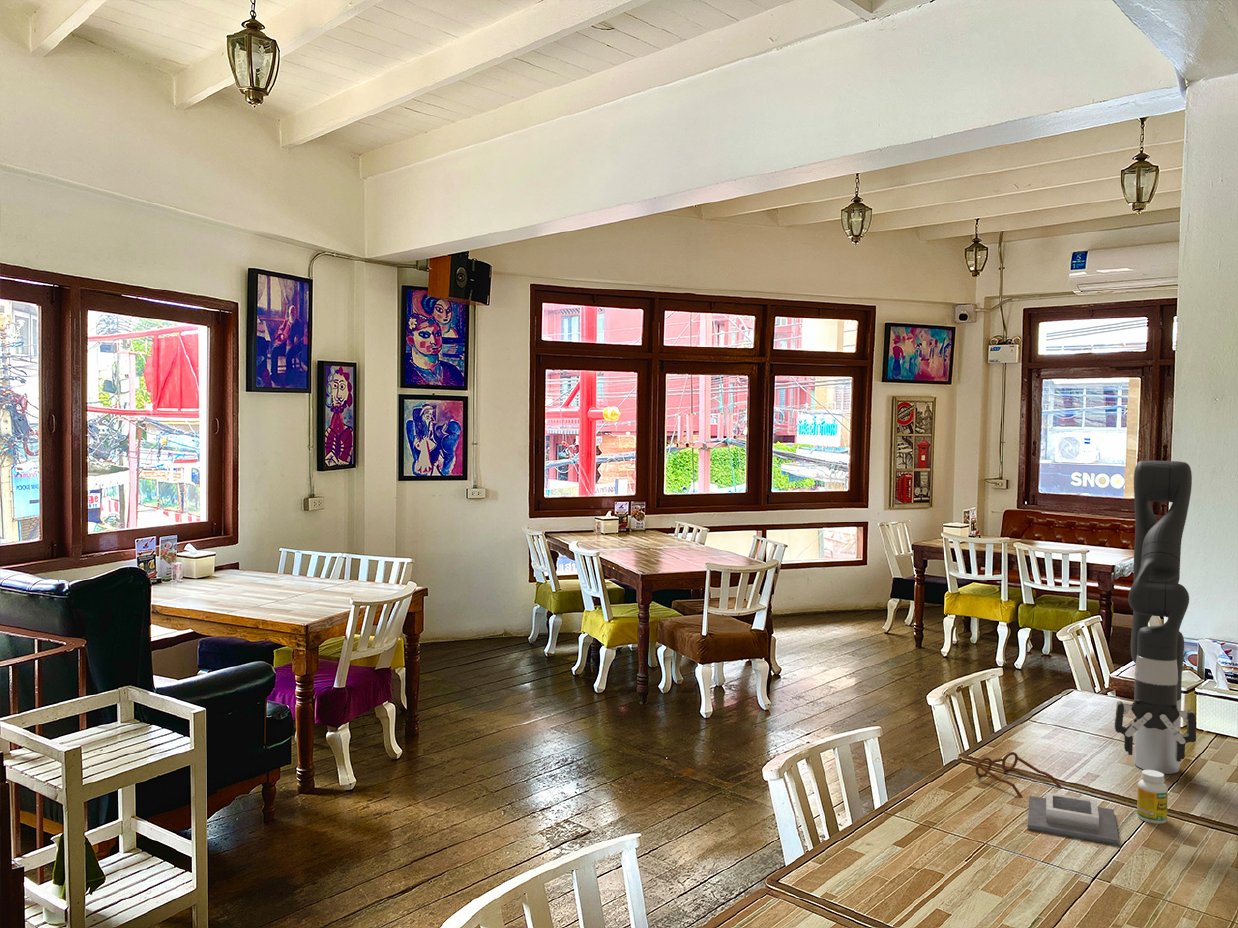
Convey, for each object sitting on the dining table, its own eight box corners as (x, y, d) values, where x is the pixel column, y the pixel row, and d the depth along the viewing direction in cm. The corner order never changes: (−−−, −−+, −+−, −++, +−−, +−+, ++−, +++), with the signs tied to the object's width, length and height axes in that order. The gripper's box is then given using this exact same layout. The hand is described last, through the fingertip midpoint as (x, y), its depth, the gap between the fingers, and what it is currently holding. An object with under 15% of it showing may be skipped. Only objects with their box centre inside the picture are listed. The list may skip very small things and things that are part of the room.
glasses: (1014, 770, 213) (1015, 749, 213) (1062, 790, 202) (1063, 768, 201) (973, 778, 208) (974, 757, 208) (1021, 799, 196) (1021, 777, 196)
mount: (1029, 799, 195) (1029, 783, 195) (1113, 813, 188) (1113, 797, 188) (1027, 829, 180) (1028, 811, 180) (1118, 845, 174) (1119, 827, 173)
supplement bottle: (1144, 811, 190) (1146, 766, 189) (1172, 820, 185) (1173, 774, 185) (1131, 817, 187) (1133, 771, 186) (1158, 826, 182) (1160, 779, 182)
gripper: (1194, 678, 185) (1191, 757, 186) (1115, 670, 191) (1113, 746, 192) (1199, 687, 178) (1197, 768, 179) (1117, 678, 185) (1115, 757, 185)
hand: (1153, 757), depth 185 cm, fingers open, 8 cm apart
